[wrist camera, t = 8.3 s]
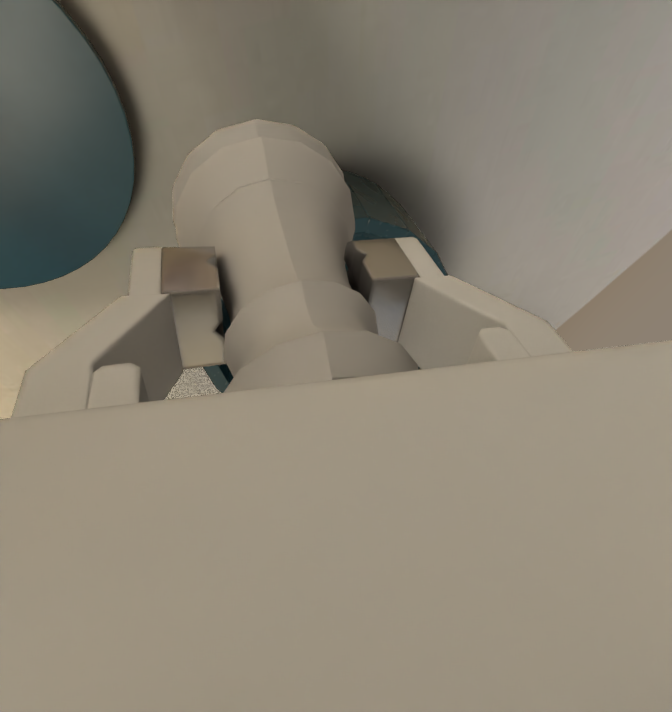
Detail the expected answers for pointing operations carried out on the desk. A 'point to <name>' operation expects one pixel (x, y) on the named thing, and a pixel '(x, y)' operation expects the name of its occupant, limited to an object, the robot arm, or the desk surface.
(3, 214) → the lid
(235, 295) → the rook chess piece
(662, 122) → the desk surface
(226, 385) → the pan
